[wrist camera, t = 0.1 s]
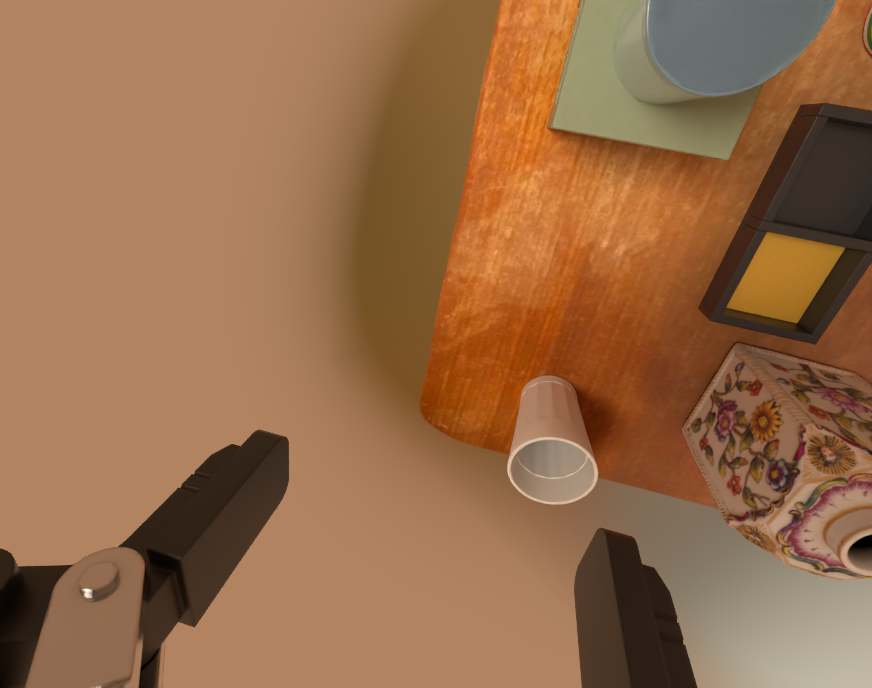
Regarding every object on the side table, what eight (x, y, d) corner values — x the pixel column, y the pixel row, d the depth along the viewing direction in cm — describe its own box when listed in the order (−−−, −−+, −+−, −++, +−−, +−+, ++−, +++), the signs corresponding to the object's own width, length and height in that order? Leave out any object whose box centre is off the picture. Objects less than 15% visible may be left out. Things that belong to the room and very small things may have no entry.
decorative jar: (676, 428, 47) (746, 578, 31) (731, 338, 41) (850, 466, 26) (787, 460, 46) (917, 632, 30) (859, 371, 40) (1065, 526, 25)
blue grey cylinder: (638, -47, 21) (690, -137, 14) (769, -29, 20) (893, -114, 13) (596, 95, 24) (620, 82, 17) (708, 115, 23) (783, 109, 16)
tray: (800, 104, 33) (824, 102, 30) (929, 126, 32) (965, 126, 29) (697, 308, 41) (709, 320, 38) (797, 330, 40) (815, 344, 37)
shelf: (583, -18, 32) (612, -107, 20) (720, 2, 31) (838, -79, 19) (546, 128, 37) (551, 128, 25) (663, 149, 36) (728, 160, 24)
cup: (577, 432, 50) (587, 511, 40) (509, 420, 52) (502, 495, 41) (591, 374, 47) (607, 446, 36) (518, 364, 48) (513, 430, 37)
